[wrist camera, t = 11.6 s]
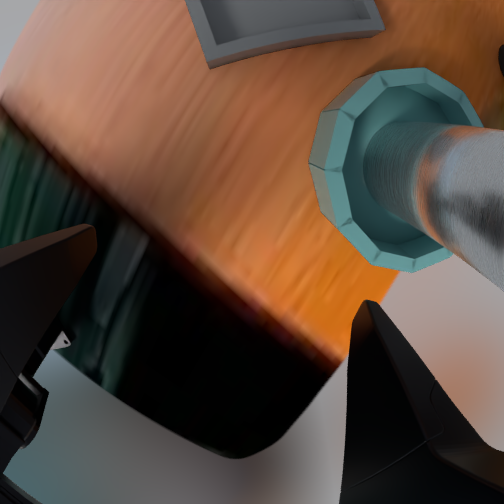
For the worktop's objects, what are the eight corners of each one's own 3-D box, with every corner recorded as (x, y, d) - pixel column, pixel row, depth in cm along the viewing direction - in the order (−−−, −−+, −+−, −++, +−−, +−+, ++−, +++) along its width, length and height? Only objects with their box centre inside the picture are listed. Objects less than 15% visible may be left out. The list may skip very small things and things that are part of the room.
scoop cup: (352, 202, 19) (494, 312, 7) (373, 108, 16) (548, 112, 4) (425, 220, 20) (557, 313, 7) (446, 138, 17) (599, 179, 5)
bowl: (333, 271, 22) (349, 296, 19) (287, 92, 17) (298, 84, 14) (465, 224, 21) (491, 238, 18) (444, 70, 16) (473, 66, 13)
